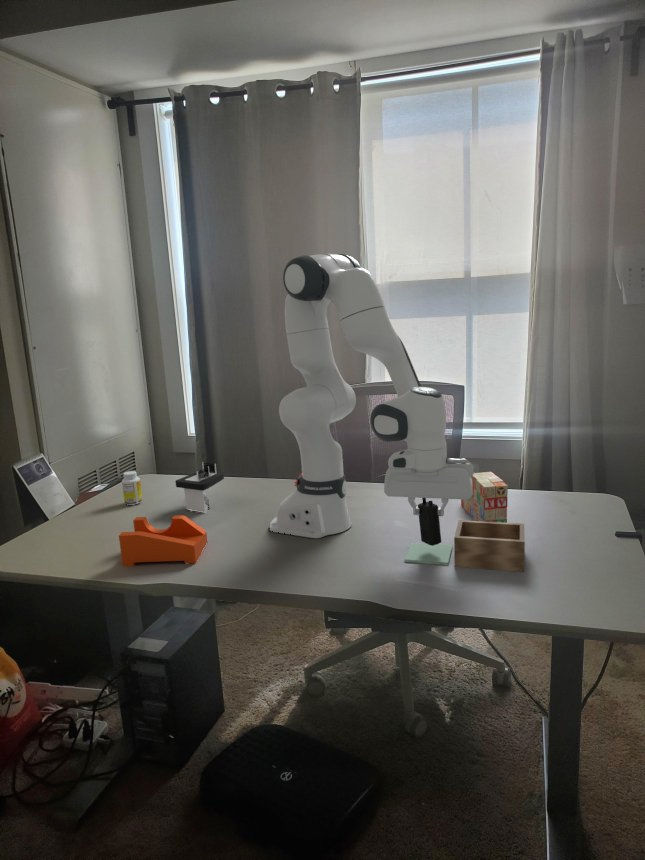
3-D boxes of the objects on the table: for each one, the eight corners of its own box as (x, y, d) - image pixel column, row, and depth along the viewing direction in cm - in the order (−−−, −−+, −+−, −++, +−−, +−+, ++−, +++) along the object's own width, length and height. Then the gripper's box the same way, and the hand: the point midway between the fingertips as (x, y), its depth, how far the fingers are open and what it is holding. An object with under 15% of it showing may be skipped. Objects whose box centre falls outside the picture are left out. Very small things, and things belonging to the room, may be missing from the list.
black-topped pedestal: (208, 530, 171) (204, 484, 169) (140, 518, 184) (135, 475, 182) (266, 499, 195) (263, 459, 192) (202, 490, 208) (198, 452, 205)
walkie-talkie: (442, 542, 145) (436, 481, 142) (431, 546, 143) (425, 485, 140) (430, 537, 149) (424, 477, 146) (418, 541, 147) (412, 481, 144)
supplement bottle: (139, 499, 201) (135, 469, 199) (145, 503, 197) (141, 472, 195) (122, 503, 198) (118, 472, 196) (128, 507, 193) (124, 476, 191)
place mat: (404, 561, 144) (404, 559, 144) (411, 544, 153) (411, 542, 153) (448, 565, 141) (448, 562, 141) (452, 547, 150) (452, 545, 150)
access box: (454, 566, 140) (454, 537, 138) (458, 547, 150) (458, 520, 148) (524, 571, 135) (524, 541, 134) (523, 551, 145) (524, 523, 144)
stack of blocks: (460, 504, 180) (460, 464, 177) (481, 503, 180) (481, 462, 177) (483, 532, 159) (483, 486, 156) (507, 530, 159) (508, 484, 157)
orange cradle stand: (123, 567, 150) (118, 535, 148) (139, 547, 162) (136, 517, 161) (196, 565, 149) (192, 532, 147) (207, 544, 162) (204, 514, 160)
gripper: (474, 455, 142) (475, 512, 144) (386, 453, 148) (388, 508, 151) (472, 462, 136) (473, 522, 139) (381, 460, 142) (383, 517, 145)
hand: (428, 514), depth 145 cm, fingers closed on walkie-talkie, 4 cm apart
